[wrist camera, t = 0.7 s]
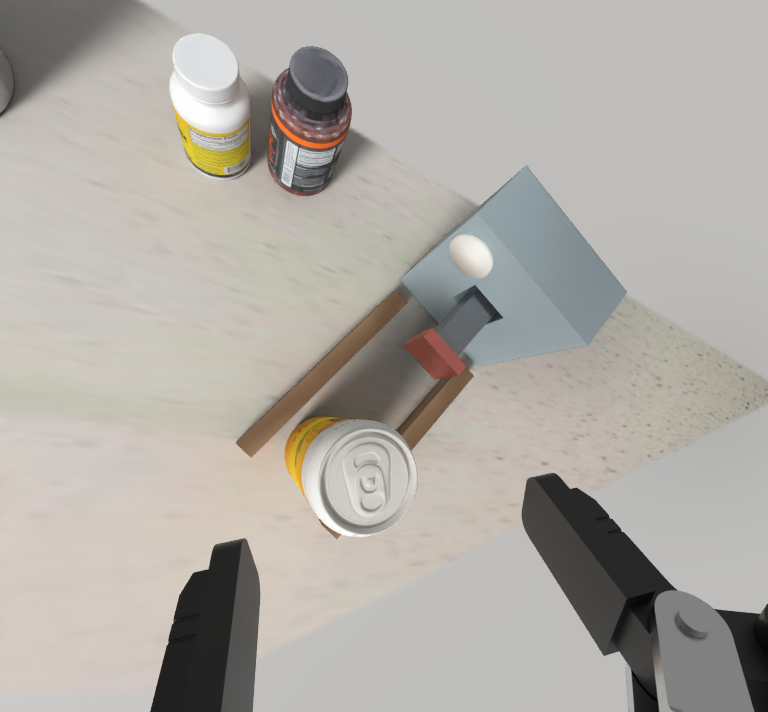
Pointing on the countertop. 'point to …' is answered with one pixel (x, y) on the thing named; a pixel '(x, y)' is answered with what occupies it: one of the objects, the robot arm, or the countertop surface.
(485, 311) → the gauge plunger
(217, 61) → the supplement bottle
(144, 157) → the countertop surface
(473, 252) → the end cabinet
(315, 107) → the supplement bottle
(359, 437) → the beer can
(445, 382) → the rail track
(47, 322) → the countertop surface
